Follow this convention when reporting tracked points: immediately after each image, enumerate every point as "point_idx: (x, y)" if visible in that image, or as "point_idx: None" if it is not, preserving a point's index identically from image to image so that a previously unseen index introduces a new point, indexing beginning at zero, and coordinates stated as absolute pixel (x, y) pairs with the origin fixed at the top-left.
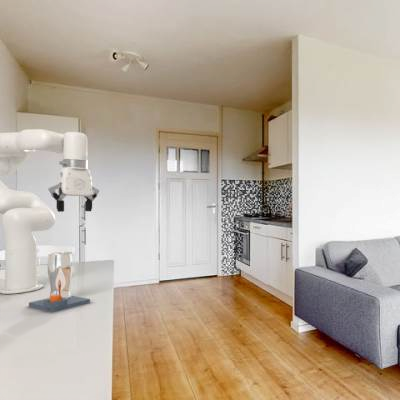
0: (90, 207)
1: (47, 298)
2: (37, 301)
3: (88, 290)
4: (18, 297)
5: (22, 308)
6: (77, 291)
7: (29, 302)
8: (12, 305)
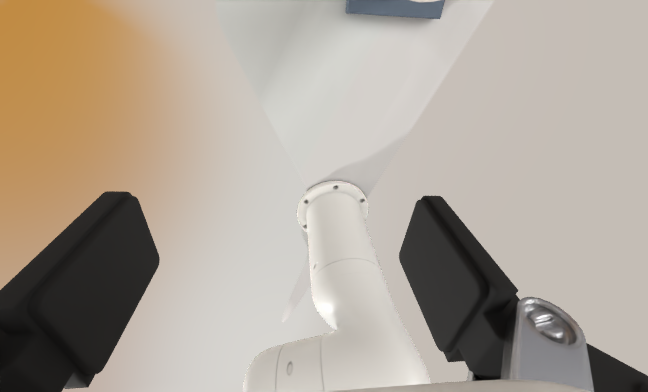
0: (94, 218)
1: (396, 15)
2: (428, 4)
3: (257, 52)
4: (375, 149)
5: (447, 19)
6: (280, 73)
7: (439, 17)
8: (429, 81)
